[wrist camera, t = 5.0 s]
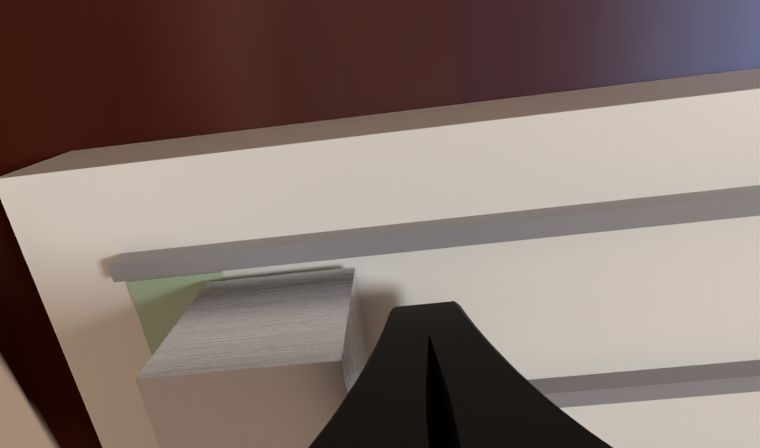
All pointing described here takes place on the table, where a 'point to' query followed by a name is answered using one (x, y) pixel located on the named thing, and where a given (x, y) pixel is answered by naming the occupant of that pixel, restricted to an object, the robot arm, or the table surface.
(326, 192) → the control panel
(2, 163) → the table surface
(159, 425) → the slider knob
